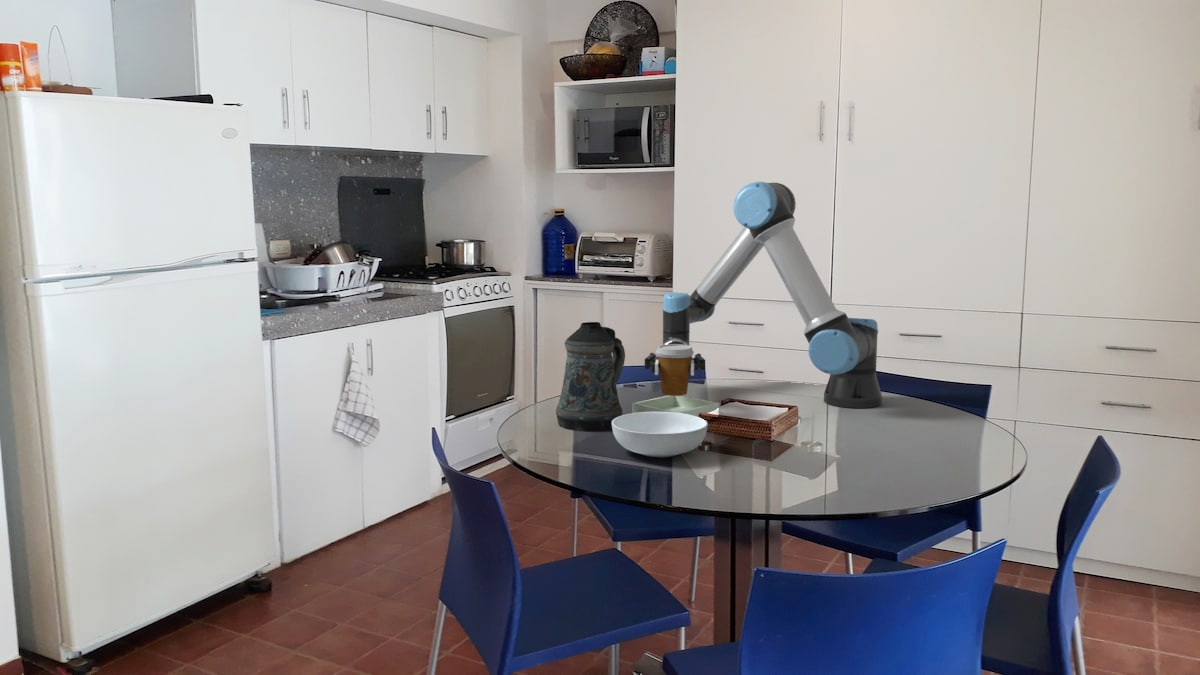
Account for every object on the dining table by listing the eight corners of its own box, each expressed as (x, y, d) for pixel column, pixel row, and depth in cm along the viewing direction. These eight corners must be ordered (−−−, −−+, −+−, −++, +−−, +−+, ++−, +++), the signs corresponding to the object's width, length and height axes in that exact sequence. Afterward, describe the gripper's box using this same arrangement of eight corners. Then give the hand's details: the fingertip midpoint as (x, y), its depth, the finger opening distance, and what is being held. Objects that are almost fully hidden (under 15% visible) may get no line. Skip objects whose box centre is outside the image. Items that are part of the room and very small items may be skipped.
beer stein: (547, 429, 216) (544, 327, 212) (571, 411, 234) (569, 317, 230) (613, 433, 211) (612, 329, 208) (632, 414, 230) (631, 318, 226)
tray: (719, 416, 226) (719, 403, 226) (676, 427, 216) (676, 413, 216) (674, 406, 238) (674, 394, 237) (632, 416, 228) (632, 403, 227)
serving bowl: (719, 462, 187) (719, 430, 186) (621, 468, 183) (621, 436, 182) (693, 437, 207) (693, 408, 206) (604, 442, 204) (604, 412, 203)
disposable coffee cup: (693, 389, 230) (693, 344, 229) (693, 397, 221) (693, 350, 219) (656, 389, 231) (656, 343, 230) (654, 397, 222) (655, 349, 220)
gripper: (714, 368, 242) (716, 385, 220) (637, 367, 244) (632, 384, 222) (714, 341, 241) (717, 355, 219) (637, 340, 243) (632, 354, 221)
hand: (674, 369), depth 221 cm, fingers closed on disposable coffee cup, 8 cm apart
